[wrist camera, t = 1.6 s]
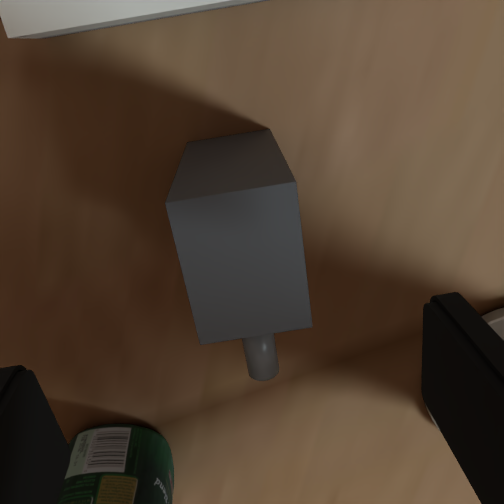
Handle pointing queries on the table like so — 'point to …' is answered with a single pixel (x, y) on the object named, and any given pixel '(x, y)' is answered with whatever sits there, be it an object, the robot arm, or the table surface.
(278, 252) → the plug
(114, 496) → the coffee jar
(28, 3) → the socket
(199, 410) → the table surface
